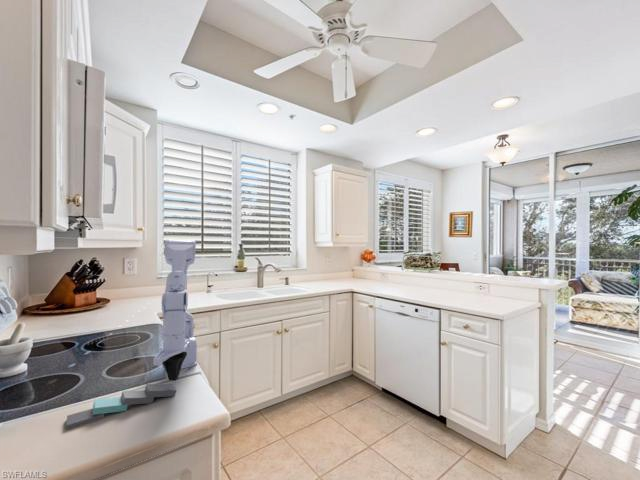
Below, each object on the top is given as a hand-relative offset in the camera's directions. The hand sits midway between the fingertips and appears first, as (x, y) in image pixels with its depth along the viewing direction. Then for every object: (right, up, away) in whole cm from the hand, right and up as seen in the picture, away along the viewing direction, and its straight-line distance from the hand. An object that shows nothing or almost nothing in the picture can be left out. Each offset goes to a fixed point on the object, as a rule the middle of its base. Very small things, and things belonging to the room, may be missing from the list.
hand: (173, 379), depth 82 cm
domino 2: (-9, -3, -7) cm, 12 cm away
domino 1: (-12, -4, -10) cm, 17 cm away
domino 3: (-4, -3, -3) cm, 6 cm away
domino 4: (0, -3, 0) cm, 3 cm away
